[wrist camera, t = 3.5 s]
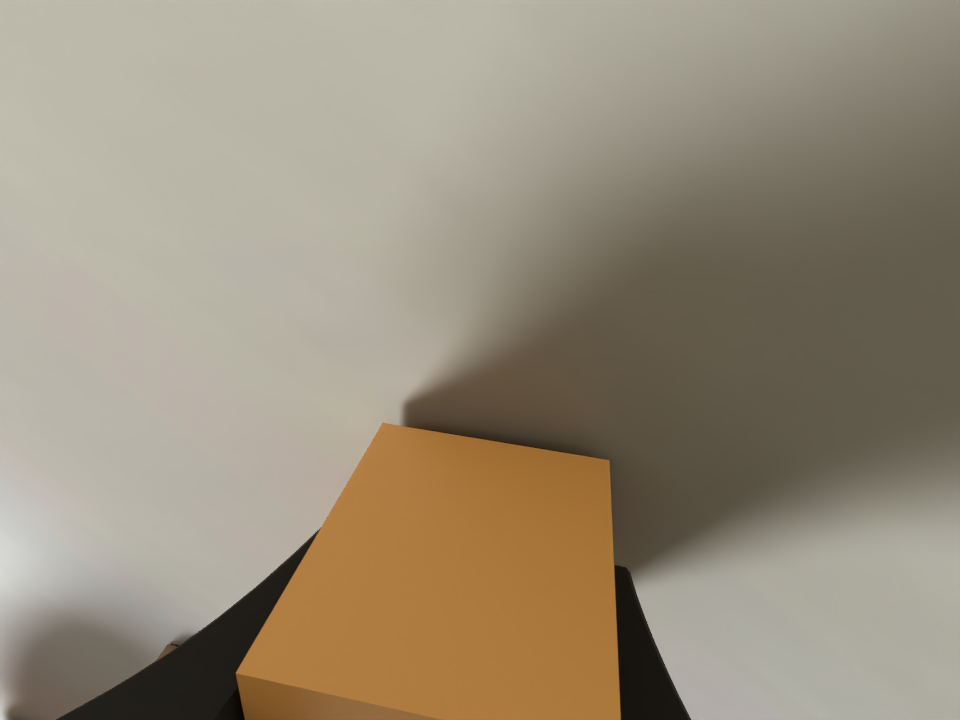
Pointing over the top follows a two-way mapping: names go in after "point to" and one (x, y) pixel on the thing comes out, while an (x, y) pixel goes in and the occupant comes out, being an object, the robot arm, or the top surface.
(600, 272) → the top surface
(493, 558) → the orange wooden cube
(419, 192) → the top surface
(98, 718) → the robot arm
